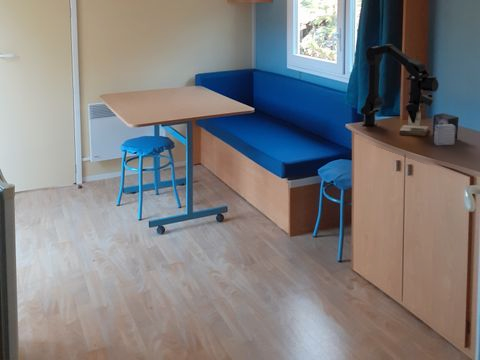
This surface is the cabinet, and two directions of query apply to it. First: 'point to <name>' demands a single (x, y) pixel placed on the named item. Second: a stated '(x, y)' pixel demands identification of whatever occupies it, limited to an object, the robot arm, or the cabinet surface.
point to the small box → (445, 121)
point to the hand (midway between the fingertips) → (414, 121)
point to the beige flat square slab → (413, 130)
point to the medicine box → (444, 134)
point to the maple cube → (417, 120)
